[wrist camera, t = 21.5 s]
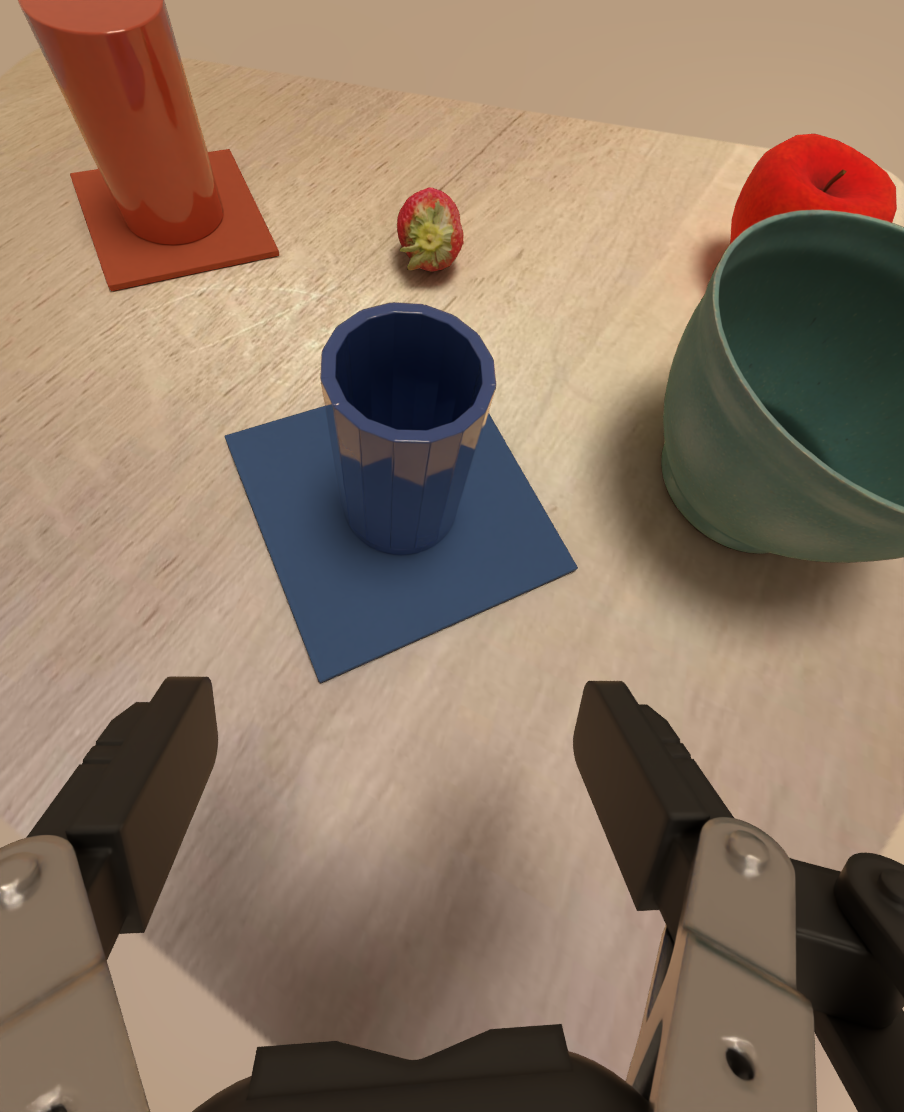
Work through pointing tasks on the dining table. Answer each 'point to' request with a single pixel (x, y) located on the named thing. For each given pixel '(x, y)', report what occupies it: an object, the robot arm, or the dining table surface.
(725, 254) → the flower pot
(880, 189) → the apple
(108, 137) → the tall red cylinder
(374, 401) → the blue cup
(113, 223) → the red mat
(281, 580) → the blue mat
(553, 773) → the dining table surface
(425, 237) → the fruit
